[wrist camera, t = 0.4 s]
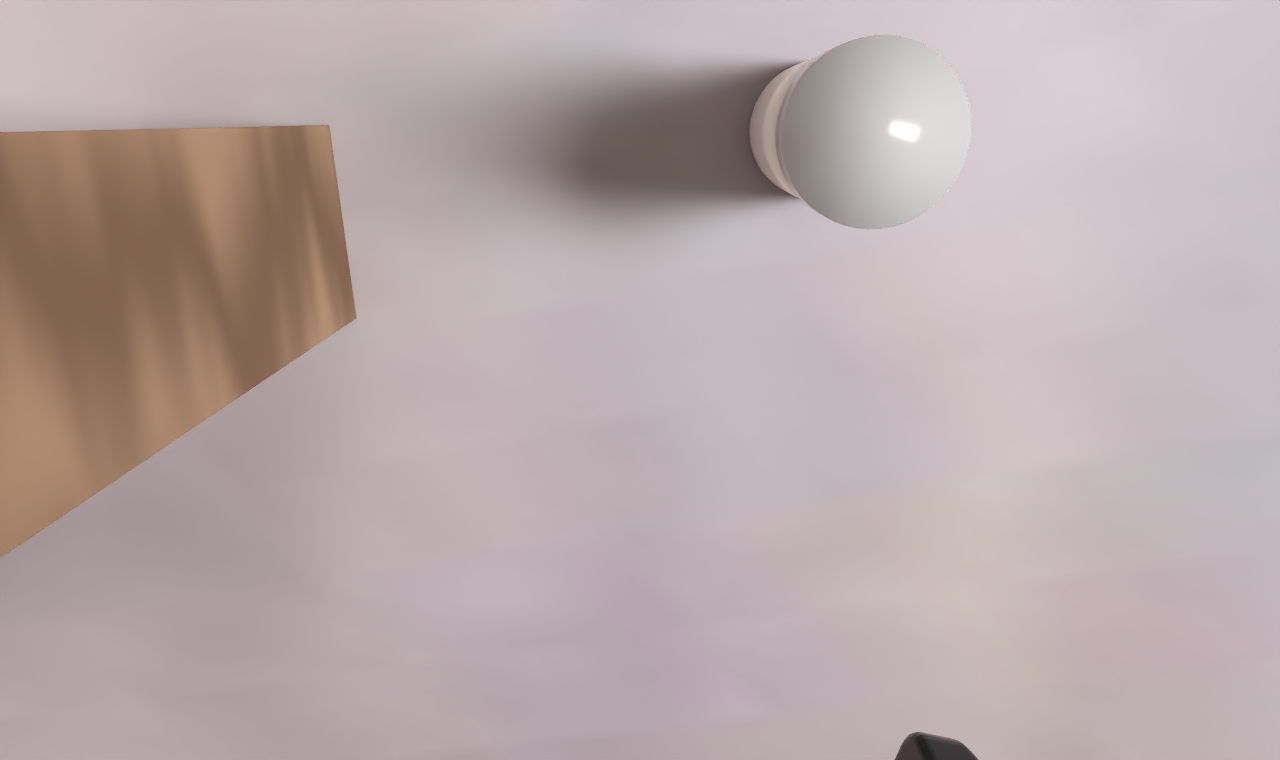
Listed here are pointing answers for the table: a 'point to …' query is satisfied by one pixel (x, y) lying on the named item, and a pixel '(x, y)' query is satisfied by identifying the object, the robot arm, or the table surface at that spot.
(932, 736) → the robot arm
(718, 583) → the table surface
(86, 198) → the walnut block
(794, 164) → the salt shaker
